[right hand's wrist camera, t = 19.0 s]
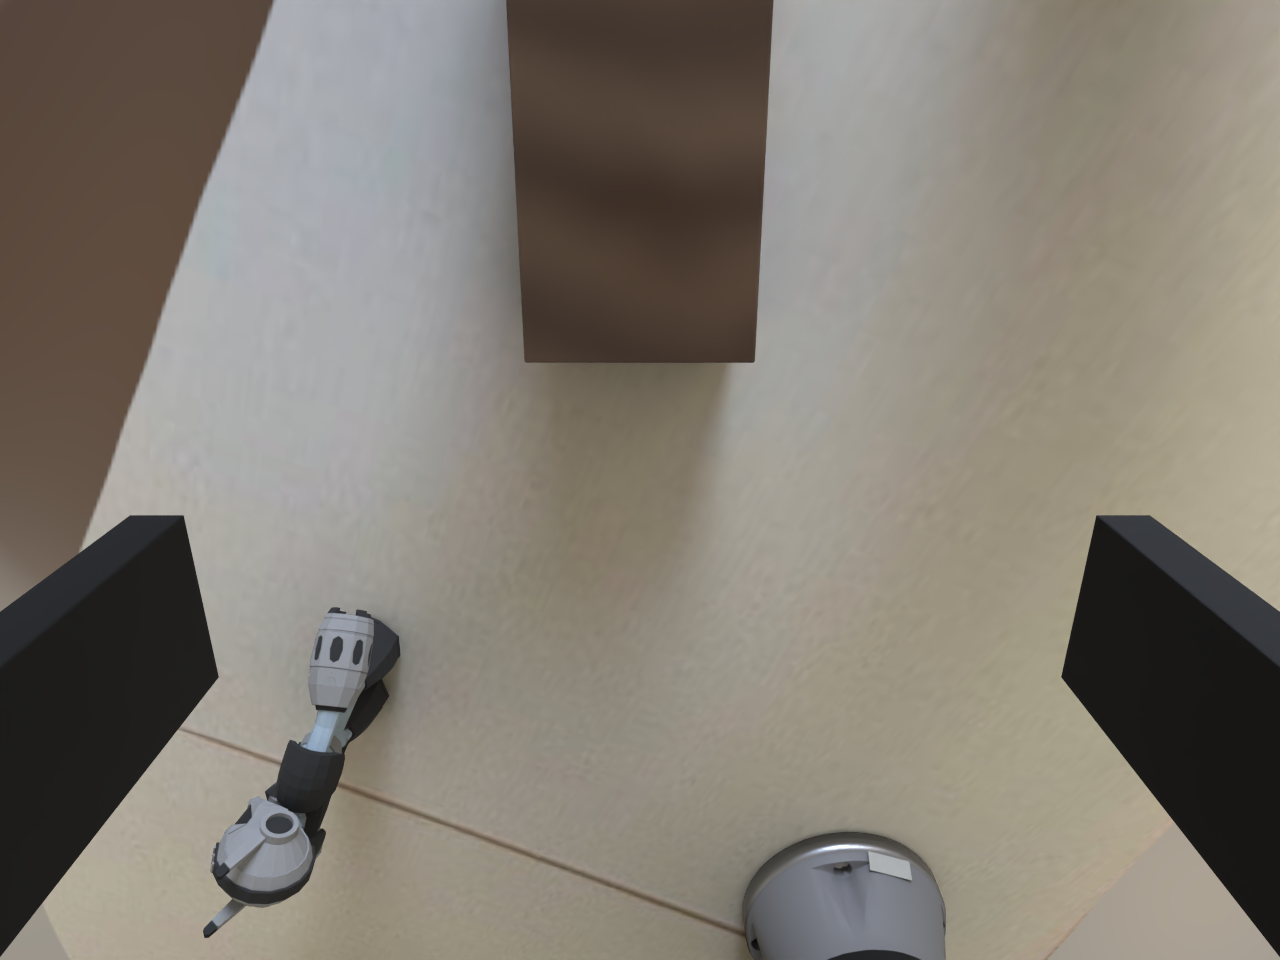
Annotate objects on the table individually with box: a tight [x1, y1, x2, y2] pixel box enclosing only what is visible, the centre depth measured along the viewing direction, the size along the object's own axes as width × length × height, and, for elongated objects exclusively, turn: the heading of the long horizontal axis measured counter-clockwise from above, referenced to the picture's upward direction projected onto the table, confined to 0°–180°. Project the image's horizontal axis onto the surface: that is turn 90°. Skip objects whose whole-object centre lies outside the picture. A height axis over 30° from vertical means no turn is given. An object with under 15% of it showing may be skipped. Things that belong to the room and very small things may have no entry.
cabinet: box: [506, 0, 773, 363], centre depth 43 cm, size 17×11×8 cm
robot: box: [203, 607, 400, 938], centre depth 49 cm, size 20×5×20 cm, turn 161°
